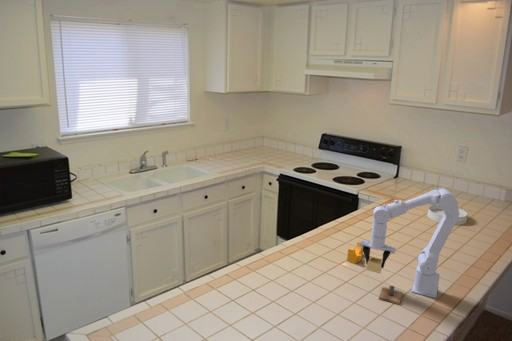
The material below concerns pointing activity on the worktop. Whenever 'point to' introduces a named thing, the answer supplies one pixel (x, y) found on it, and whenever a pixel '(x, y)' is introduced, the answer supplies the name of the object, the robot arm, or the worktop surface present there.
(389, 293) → the shaft block
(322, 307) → the worktop surface
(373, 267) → the collar
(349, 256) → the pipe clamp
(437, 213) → the dish
